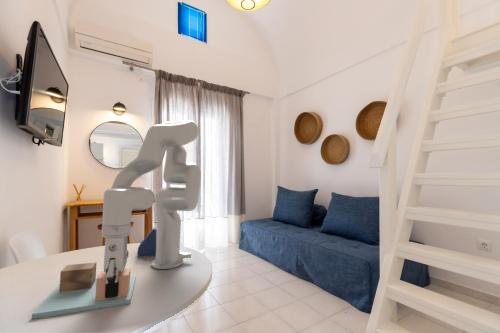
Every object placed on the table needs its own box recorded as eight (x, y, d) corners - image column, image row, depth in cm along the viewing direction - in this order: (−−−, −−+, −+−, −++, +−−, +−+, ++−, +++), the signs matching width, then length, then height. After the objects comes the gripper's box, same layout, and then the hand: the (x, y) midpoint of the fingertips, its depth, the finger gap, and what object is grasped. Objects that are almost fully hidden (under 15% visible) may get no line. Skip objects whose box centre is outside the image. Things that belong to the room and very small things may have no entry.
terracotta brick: (129, 287, 73) (130, 268, 74) (127, 296, 68) (128, 274, 68) (99, 291, 70) (100, 271, 71) (95, 300, 65) (96, 278, 65)
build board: (135, 278, 83) (135, 274, 83) (130, 303, 66) (130, 299, 66) (59, 287, 75) (59, 283, 75) (31, 319, 58) (31, 314, 58)
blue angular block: (141, 249, 116) (142, 224, 117) (166, 247, 120) (167, 223, 121) (137, 257, 105) (138, 230, 105) (166, 255, 109) (167, 228, 109)
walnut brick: (95, 280, 78) (96, 262, 78) (91, 288, 72) (92, 268, 73) (66, 284, 75) (67, 265, 75) (59, 292, 70) (60, 271, 70)
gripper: (127, 235, 64) (123, 304, 63) (133, 224, 79) (130, 278, 79) (94, 237, 61) (90, 309, 60) (107, 225, 77) (104, 281, 76)
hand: (113, 291), depth 69 cm, fingers closed on terracotta brick, 5 cm apart
